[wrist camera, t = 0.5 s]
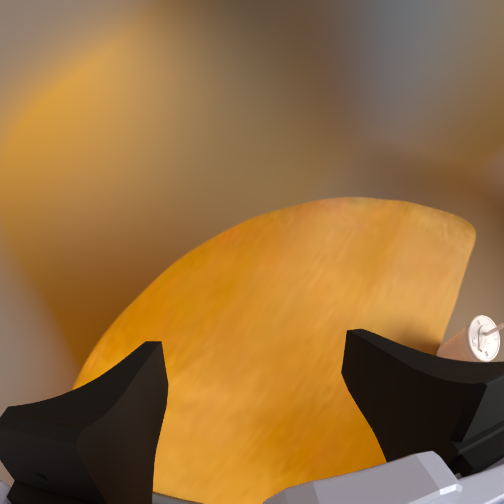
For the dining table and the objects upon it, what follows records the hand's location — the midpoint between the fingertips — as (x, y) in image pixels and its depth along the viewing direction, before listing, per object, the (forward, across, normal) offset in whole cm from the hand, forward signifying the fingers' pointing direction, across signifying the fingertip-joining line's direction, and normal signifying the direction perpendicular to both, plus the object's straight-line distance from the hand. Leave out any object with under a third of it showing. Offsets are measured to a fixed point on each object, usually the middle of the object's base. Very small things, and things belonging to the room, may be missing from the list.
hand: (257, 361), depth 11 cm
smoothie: (+21, -31, +18) cm, 42 cm away
